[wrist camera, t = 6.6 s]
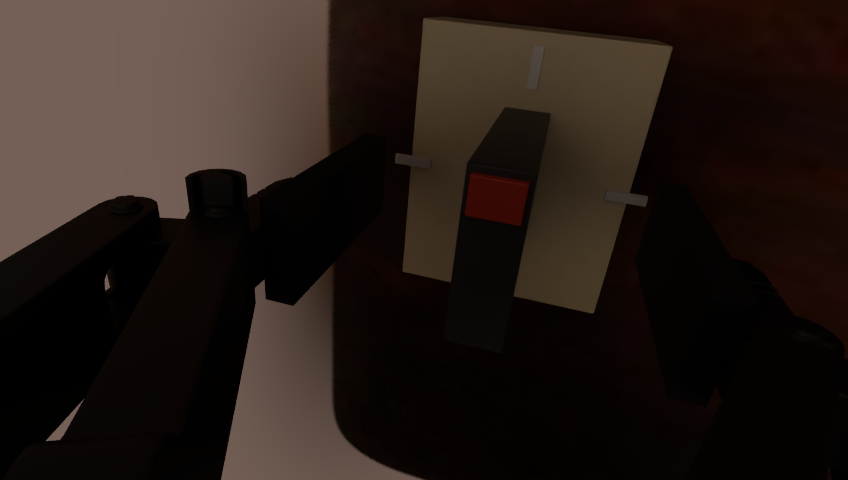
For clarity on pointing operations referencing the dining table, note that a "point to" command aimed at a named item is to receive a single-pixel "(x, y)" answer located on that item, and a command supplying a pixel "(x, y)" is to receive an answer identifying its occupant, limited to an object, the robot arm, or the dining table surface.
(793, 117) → the dining table surface
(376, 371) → the dining table surface
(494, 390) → the dining table surface
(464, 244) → the black block red label
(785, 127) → the dining table surface
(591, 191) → the tan flat block
